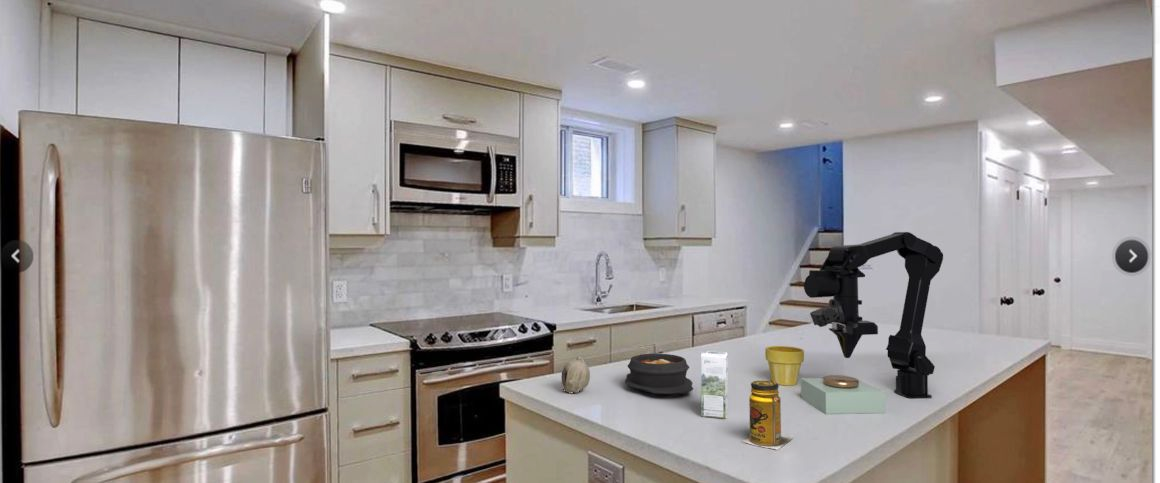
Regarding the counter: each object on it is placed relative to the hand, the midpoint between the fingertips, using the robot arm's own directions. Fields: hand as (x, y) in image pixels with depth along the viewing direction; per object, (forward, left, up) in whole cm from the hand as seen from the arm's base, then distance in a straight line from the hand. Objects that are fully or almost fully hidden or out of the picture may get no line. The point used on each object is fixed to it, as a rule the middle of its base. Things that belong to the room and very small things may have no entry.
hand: (847, 357), depth 146 cm
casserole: (+45, -16, -11) cm, 49 cm away
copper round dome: (+3, +3, -10) cm, 11 cm away
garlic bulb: (+68, -14, -11) cm, 70 cm away
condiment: (+30, +27, -11) cm, 42 cm away
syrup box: (+36, +9, -11) cm, 39 cm away
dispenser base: (+3, +3, -11) cm, 12 cm away
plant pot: (+8, -20, -11) cm, 24 cm away
